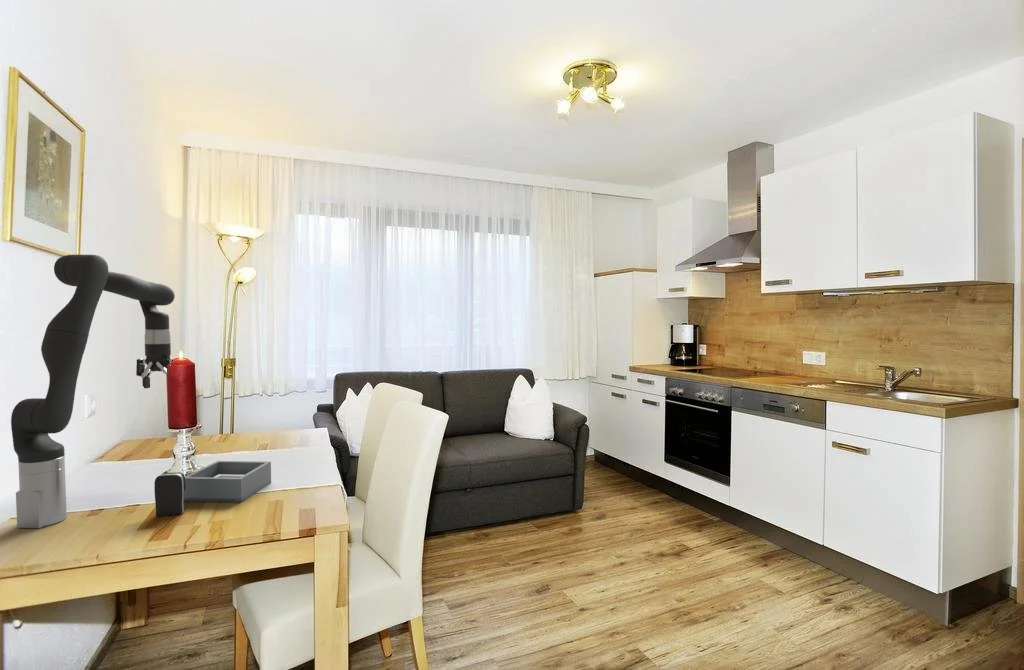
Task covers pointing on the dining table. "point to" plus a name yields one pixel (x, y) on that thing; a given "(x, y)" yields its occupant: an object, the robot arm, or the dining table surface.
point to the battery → (169, 494)
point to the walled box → (227, 481)
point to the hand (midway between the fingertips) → (158, 388)
